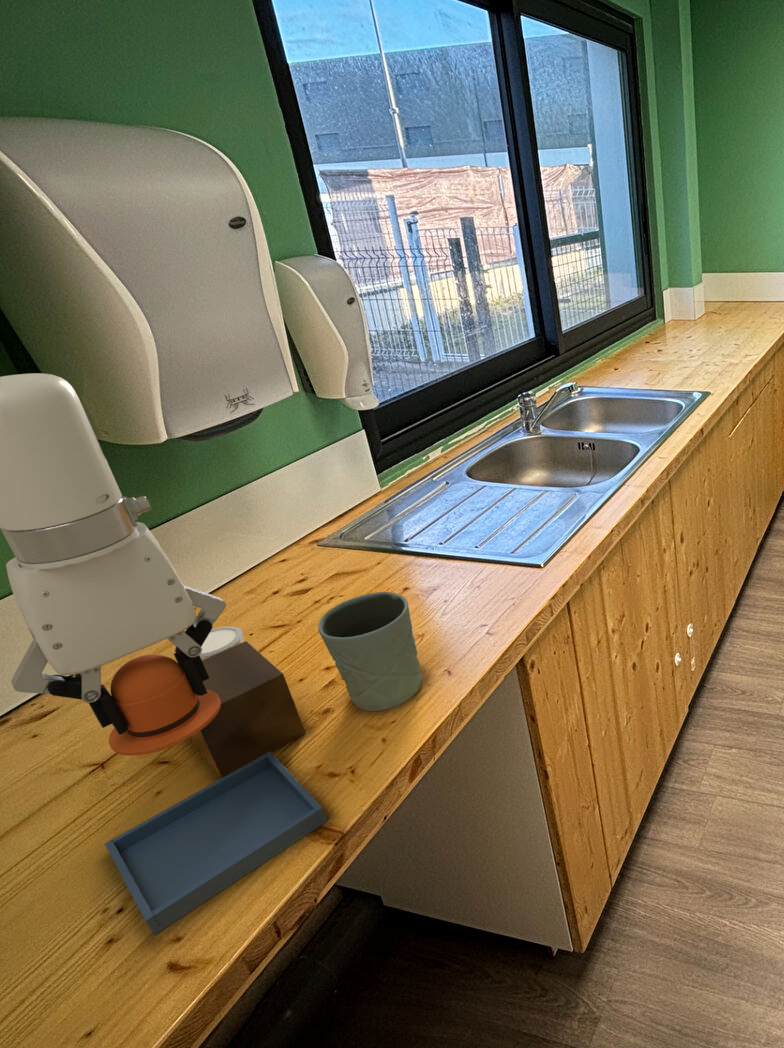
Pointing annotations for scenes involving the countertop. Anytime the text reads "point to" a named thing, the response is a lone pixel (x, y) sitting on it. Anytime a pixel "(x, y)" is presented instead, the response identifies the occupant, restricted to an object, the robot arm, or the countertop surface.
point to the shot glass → (221, 640)
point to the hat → (157, 705)
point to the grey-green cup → (373, 649)
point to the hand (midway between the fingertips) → (159, 705)
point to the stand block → (246, 709)
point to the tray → (213, 839)
